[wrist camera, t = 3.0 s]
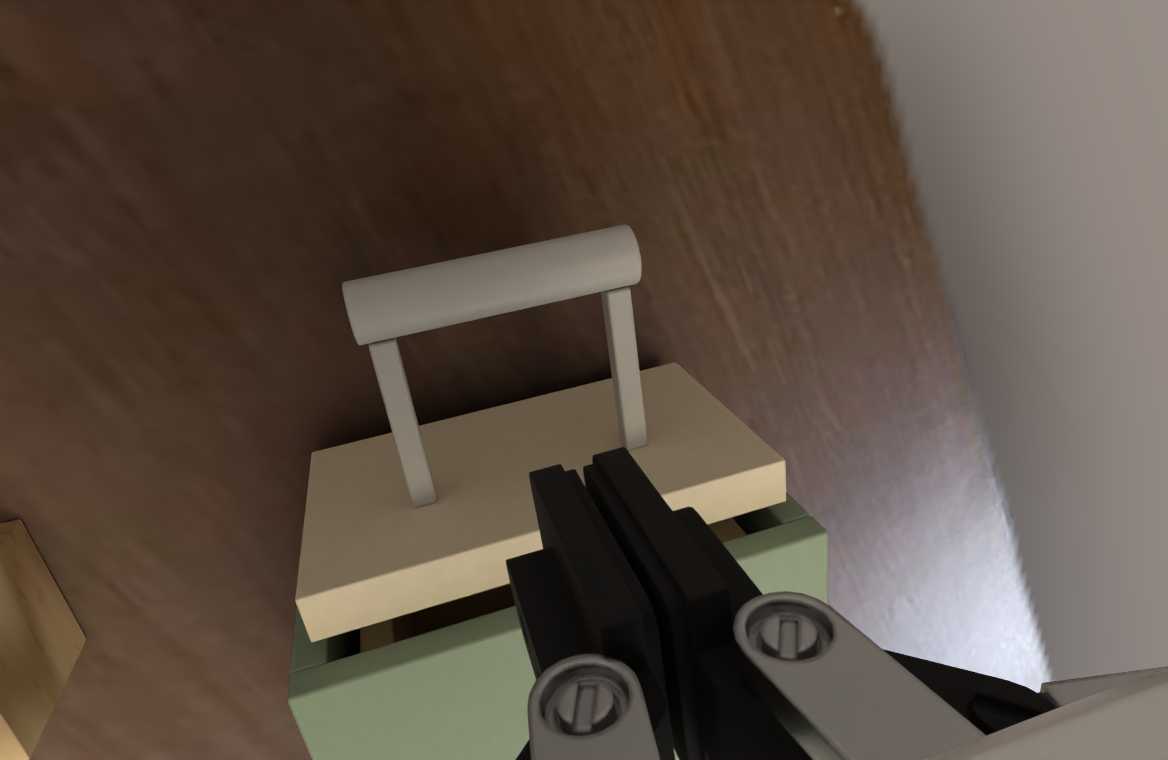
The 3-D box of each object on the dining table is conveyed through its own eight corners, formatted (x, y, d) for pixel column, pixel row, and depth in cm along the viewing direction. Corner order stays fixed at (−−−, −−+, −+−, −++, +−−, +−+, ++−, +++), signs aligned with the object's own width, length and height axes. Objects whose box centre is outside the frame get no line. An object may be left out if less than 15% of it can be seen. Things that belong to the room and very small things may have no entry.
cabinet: (308, 490, 23) (285, 701, 15) (686, 393, 25) (830, 531, 18) (417, 803, 29) (439, 1067, 21) (712, 700, 31) (828, 902, 24)
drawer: (247, 261, 19) (197, 349, 13) (659, 181, 21) (780, 224, 15) (417, 769, 27) (435, 969, 21) (704, 671, 29) (795, 827, 23)
